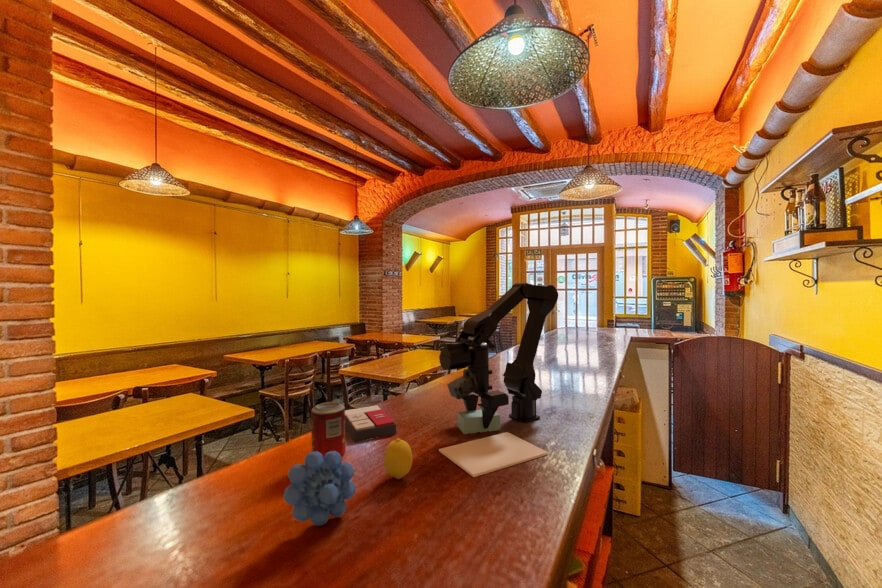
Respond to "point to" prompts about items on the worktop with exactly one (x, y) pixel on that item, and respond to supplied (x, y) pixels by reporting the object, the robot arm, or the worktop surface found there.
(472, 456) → the mat
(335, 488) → the blue knobbed flower
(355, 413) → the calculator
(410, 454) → the lemon
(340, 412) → the soda can
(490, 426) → the grey-green block
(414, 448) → the worktop surface
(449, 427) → the worktop surface
